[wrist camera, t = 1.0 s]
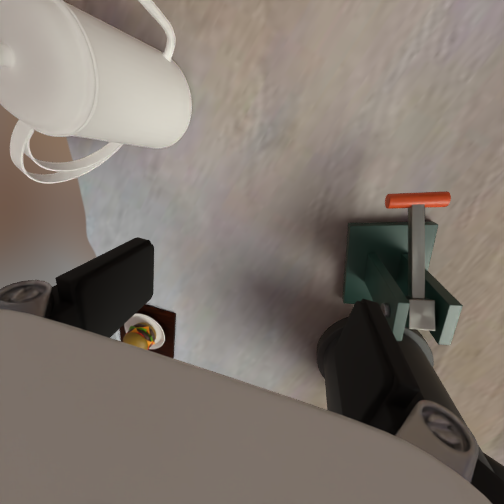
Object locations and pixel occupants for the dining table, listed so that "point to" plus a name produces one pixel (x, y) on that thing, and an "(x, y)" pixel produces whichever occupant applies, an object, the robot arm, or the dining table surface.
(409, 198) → the switch lever
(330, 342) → the kettle
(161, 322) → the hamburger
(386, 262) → the switch bracket
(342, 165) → the dining table surface
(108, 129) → the coffeepot
